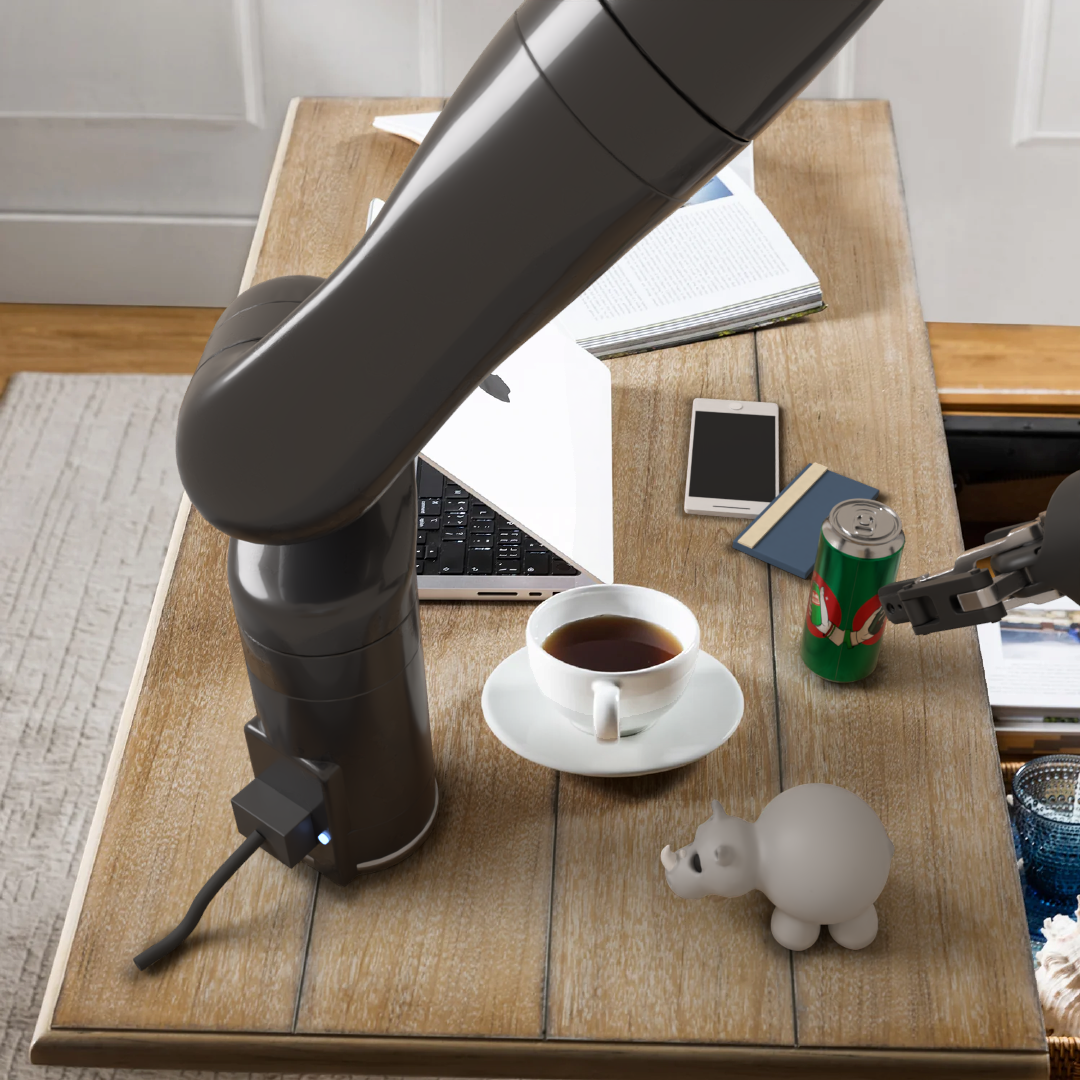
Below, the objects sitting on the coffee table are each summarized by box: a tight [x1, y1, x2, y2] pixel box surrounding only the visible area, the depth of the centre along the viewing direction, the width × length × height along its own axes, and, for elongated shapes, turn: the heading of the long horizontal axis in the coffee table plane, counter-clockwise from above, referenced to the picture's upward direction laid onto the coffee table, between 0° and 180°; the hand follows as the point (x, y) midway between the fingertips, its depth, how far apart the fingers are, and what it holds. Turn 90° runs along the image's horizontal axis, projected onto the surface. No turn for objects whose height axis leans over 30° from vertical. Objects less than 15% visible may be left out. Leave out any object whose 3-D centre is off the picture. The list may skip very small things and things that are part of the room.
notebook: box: [732, 461, 880, 580], centre depth 96 cm, size 12×6×1 cm, turn 143°
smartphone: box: [683, 397, 780, 520], centre depth 102 cm, size 7×15×1 cm, turn 172°
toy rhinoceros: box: [660, 782, 896, 952], centre depth 67 cm, size 7×12×8 cm, turn 89°
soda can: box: [799, 499, 906, 684], centre depth 81 cm, size 5×5×12 cm
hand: (941, 577), depth 73 cm, fingers open, 8 cm apart
